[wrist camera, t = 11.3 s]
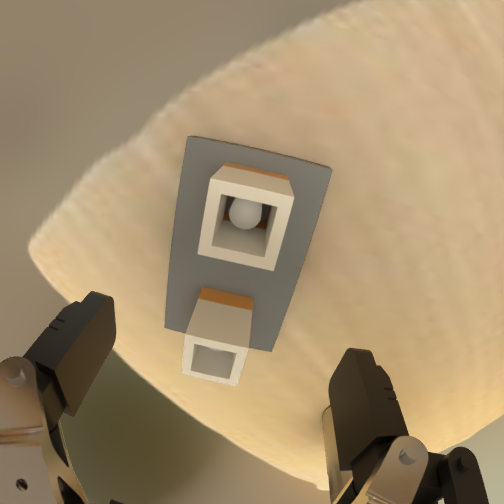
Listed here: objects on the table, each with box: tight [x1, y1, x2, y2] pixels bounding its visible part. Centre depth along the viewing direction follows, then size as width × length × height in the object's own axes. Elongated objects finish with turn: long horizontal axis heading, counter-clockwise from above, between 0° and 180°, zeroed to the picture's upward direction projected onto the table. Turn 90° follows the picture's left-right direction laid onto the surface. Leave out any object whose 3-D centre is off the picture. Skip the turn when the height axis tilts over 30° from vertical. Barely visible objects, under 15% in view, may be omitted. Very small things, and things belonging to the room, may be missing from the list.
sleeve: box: [198, 162, 294, 271], centre depth 21 cm, size 5×5×7 cm
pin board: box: [165, 136, 332, 386], centre depth 24 cm, size 20×12×8 cm, turn 167°
